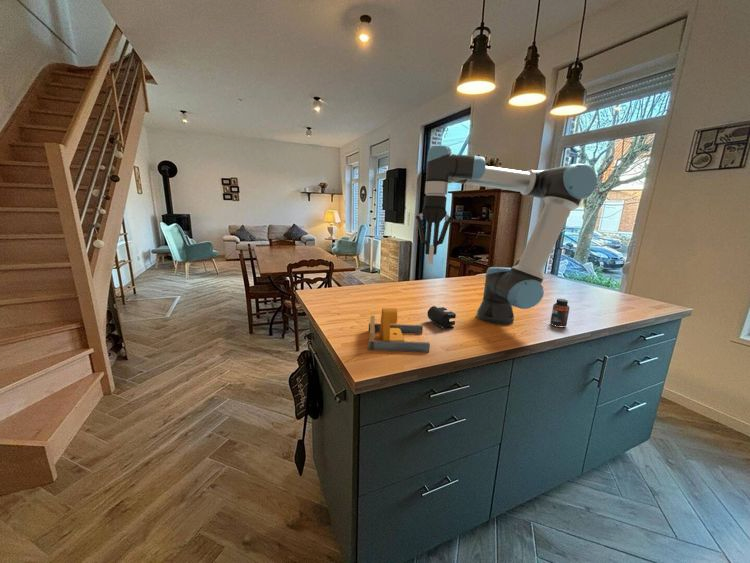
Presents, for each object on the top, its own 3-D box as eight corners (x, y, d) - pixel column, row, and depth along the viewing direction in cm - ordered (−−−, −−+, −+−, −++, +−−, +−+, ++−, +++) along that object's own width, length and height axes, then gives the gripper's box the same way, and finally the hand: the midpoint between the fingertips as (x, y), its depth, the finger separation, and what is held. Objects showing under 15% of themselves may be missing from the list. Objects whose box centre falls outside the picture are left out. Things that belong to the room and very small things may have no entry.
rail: (421, 332, 114) (422, 317, 112) (429, 352, 98) (430, 335, 97) (368, 330, 113) (369, 315, 112) (367, 349, 98) (368, 332, 96)
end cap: (426, 321, 126) (427, 306, 124) (440, 320, 128) (442, 305, 127) (440, 330, 117) (441, 314, 115) (455, 328, 119) (456, 312, 118)
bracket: (404, 347, 101) (406, 313, 98) (382, 347, 100) (384, 313, 97) (399, 334, 111) (401, 303, 108) (379, 334, 110) (381, 303, 108)
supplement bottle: (566, 325, 129) (571, 299, 126) (565, 329, 124) (571, 303, 121) (550, 321, 132) (555, 297, 129) (549, 325, 127) (553, 300, 124)
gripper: (451, 196, 107) (445, 262, 112) (415, 195, 107) (410, 261, 112) (457, 195, 99) (450, 266, 105) (418, 194, 99) (413, 264, 105)
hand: (429, 263), depth 108 cm, fingers closed
